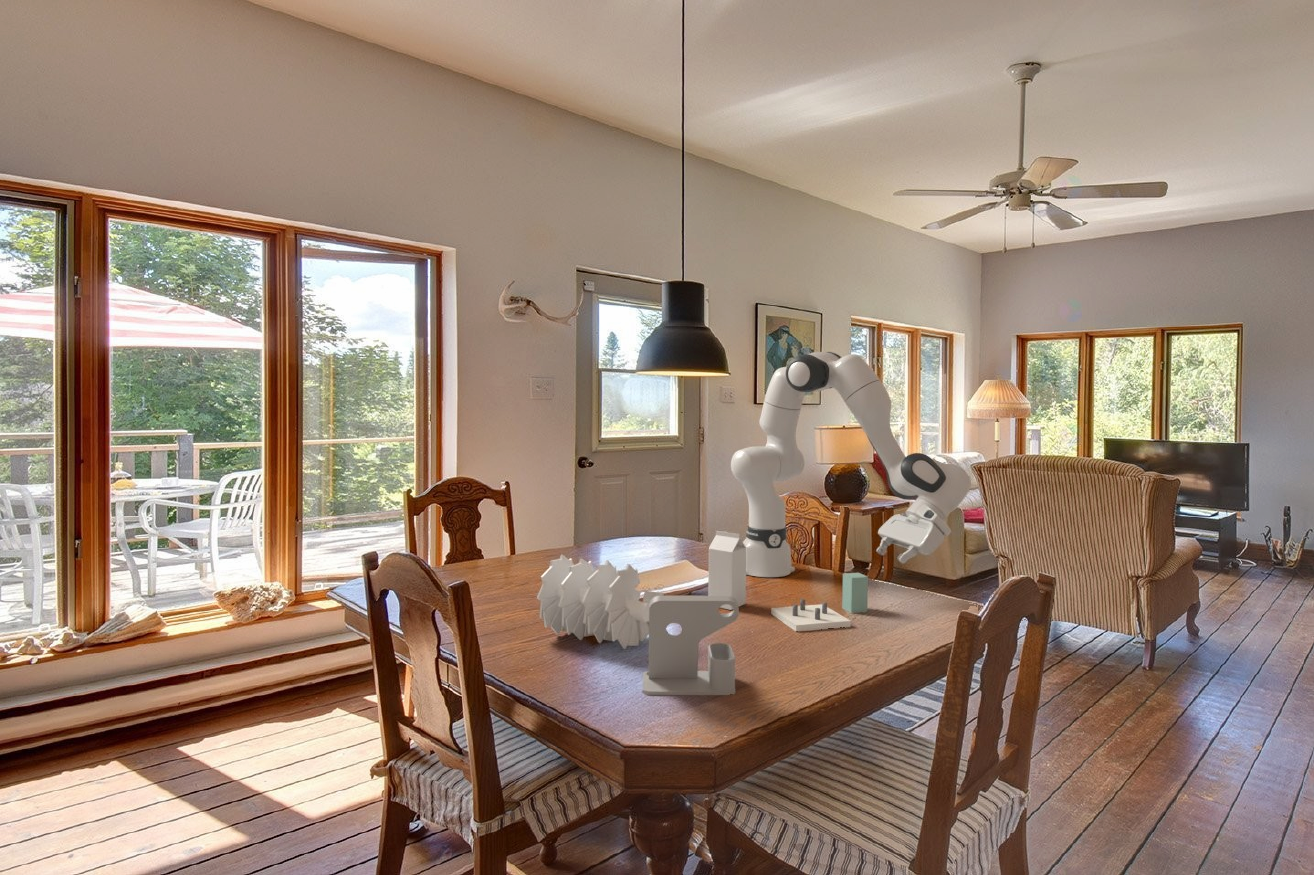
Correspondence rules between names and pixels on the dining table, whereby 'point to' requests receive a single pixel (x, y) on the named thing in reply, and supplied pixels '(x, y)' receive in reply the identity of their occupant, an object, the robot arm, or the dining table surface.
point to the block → (855, 592)
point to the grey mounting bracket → (689, 647)
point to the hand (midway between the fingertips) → (889, 557)
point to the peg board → (810, 617)
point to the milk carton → (727, 568)
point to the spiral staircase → (595, 601)
